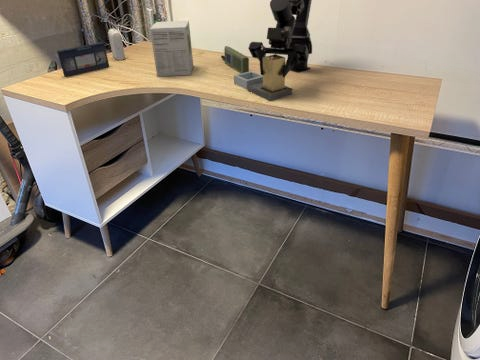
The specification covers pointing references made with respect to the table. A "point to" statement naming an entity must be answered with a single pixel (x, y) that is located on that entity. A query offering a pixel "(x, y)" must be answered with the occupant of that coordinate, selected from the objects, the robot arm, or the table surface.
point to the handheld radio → (236, 60)
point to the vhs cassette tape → (83, 59)
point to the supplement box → (172, 48)
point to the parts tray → (247, 79)
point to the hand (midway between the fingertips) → (272, 75)
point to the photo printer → (116, 44)
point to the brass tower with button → (273, 73)
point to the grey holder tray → (259, 91)
